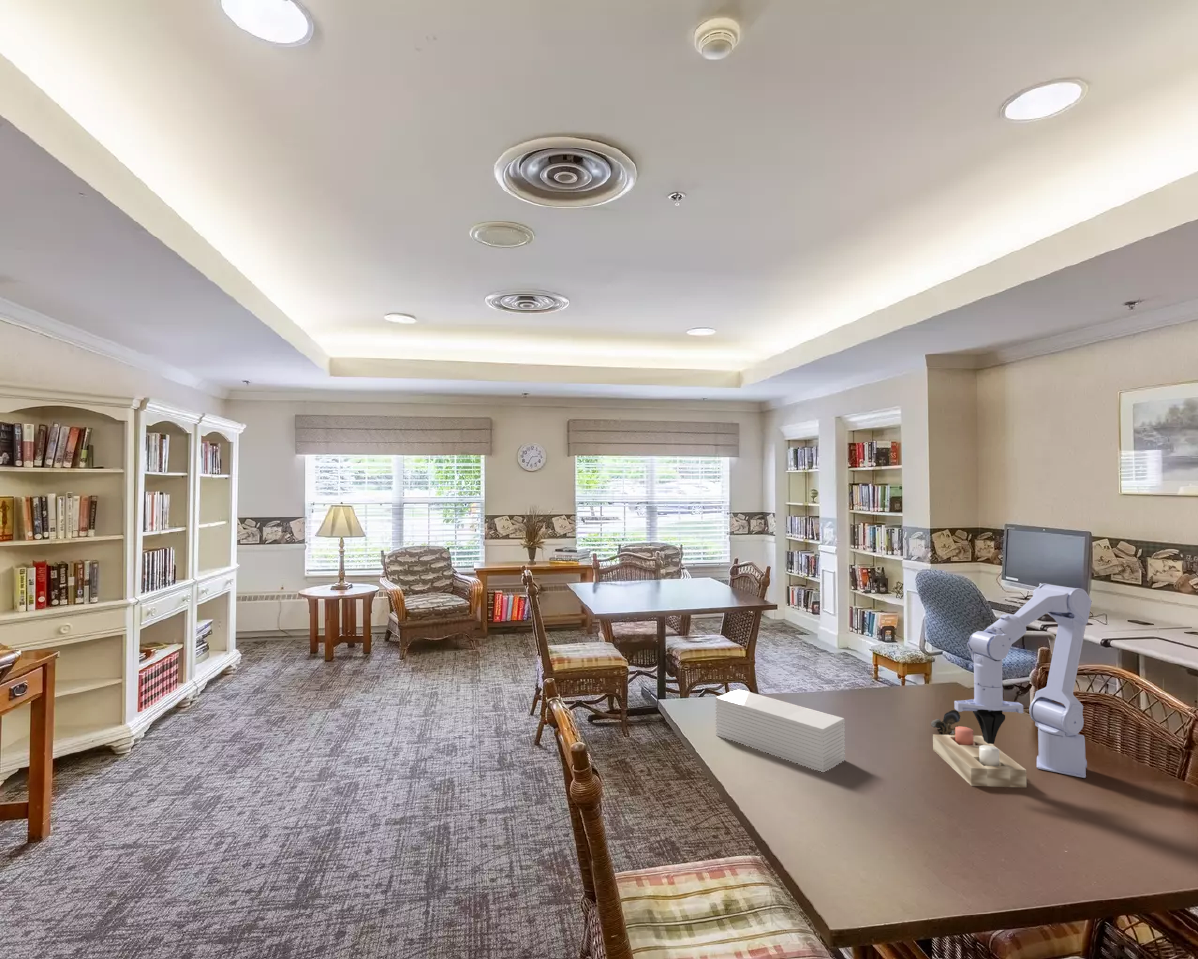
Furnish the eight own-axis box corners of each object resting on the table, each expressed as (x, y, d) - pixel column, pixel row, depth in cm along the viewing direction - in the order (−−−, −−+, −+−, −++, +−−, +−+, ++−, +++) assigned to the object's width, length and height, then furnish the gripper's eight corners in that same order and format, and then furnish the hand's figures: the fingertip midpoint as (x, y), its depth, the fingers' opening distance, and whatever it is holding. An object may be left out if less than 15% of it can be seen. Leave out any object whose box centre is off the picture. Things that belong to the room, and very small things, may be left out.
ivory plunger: (993, 764, 151) (993, 745, 151) (1003, 771, 147) (1002, 752, 147) (976, 763, 151) (975, 744, 151) (984, 771, 147) (984, 751, 147)
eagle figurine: (967, 739, 169) (967, 722, 177) (950, 715, 170) (951, 700, 178) (940, 748, 173) (941, 731, 181) (924, 725, 174) (926, 710, 182)
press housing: (981, 751, 164) (981, 735, 164) (1026, 787, 144) (1026, 769, 144) (933, 749, 165) (932, 734, 165) (971, 785, 145) (971, 768, 145)
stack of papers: (844, 761, 159) (844, 718, 159) (823, 774, 152) (822, 729, 152) (738, 726, 183) (738, 688, 183) (716, 736, 176) (715, 697, 176)
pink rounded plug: (968, 744, 163) (968, 726, 163) (976, 750, 159) (976, 732, 159) (952, 743, 163) (952, 726, 163) (960, 750, 159) (959, 732, 159)
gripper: (1011, 679, 152) (1011, 736, 152) (948, 678, 154) (948, 734, 153) (1028, 688, 145) (1029, 748, 145) (962, 687, 147) (962, 746, 146)
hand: (988, 742), depth 149 cm, fingers closed
